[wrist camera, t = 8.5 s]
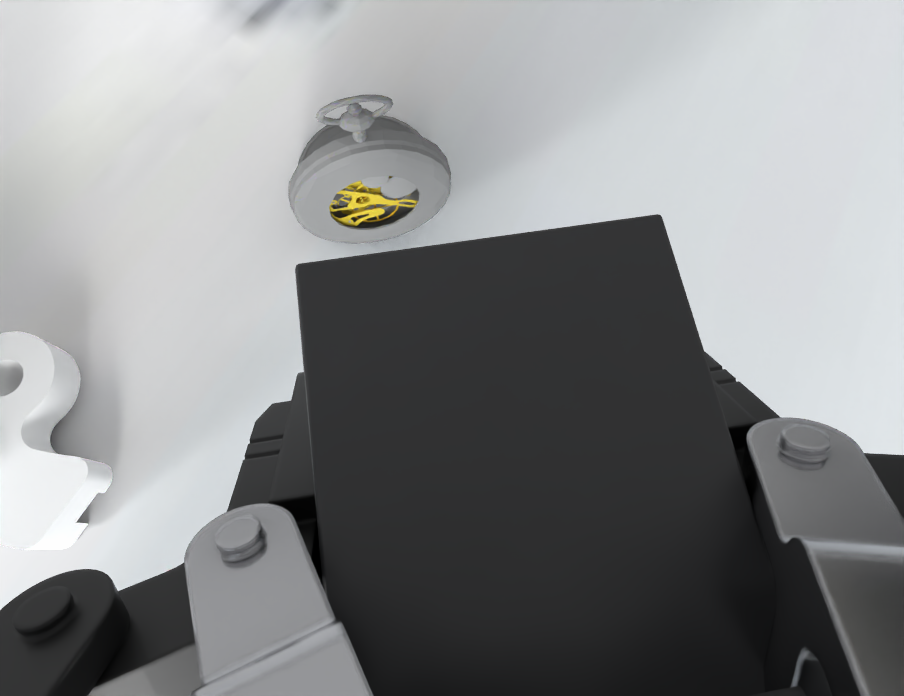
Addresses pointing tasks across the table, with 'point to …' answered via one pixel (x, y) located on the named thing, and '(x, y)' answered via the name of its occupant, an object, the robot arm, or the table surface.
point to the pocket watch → (367, 176)
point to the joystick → (40, 448)
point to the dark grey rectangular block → (529, 471)
